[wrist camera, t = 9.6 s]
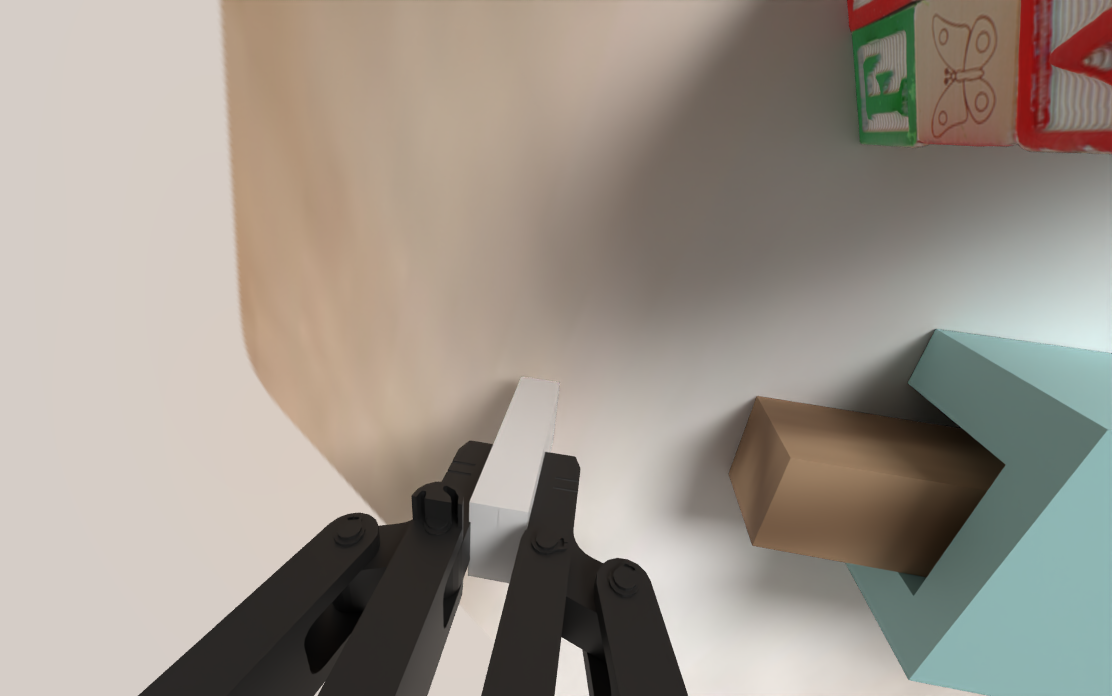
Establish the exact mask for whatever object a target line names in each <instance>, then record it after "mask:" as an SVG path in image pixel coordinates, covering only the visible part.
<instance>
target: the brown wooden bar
mask: <svg viewBox="0 0 1112 696" xmlns="http://www.w3.org/2000/svg"><path fill="white" fill-rule="evenodd" d="M1005 465H1006V464H1004V463H1003V462H1002V461H1001V460H1000V459H998V458H997V457H996V456H995V455H994V454H992V453H991V452H990V451H989V450H988V449H986V448H985V447H984V446H983V445H982V444H980V443H979V442H978V441H977V440H976V439H974V438H973V437H972V436H971V435H969V434H968V433H967V432H966V431H965V430H963V429H962V428H956V427H949V426H943V425H937V424H930V423H924V422H918V421H911V420H905V419H899V418H893V417H886V416H880V415H874V414H867V413H861V412H855V411H849V410H842V409H836V408H830V407H823V406H817V405H811V404H804V403H798V402H792V401H786V400H779V399H773V398H767V397H760V396H757V397H756V400H755V402H754V405H753V408H752V411H751V413H750V416H749V419H748V422H747V424H746V427H745V430H744V433H743V435H742V438H741V441H740V444H739V446H738V449H737V452H736V455H735V457H734V460H733V463H732V466H731V468H730V471H729V477H730V480H731V483H732V486H733V489H734V492H735V495H736V498H737V501H738V504H739V507H740V510H741V513H742V516H743V519H744V522H745V525H746V528H747V531H748V534H749V537H750V540H751V543H752V546H757V547H763V548H768V549H774V550H779V551H785V552H790V553H796V554H801V555H807V556H812V557H818V558H823V559H829V560H834V561H840V562H845V563H851V564H856V565H862V566H867V567H873V568H878V569H884V570H889V571H895V572H900V573H906V574H911V575H917V576H922V577H927V576H928V575H929V573H930V572H931V571H932V569H933V568H934V566H935V565H936V563H937V562H938V561H939V559H940V558H941V556H942V555H943V553H944V552H945V551H946V549H947V548H948V546H949V545H950V544H951V542H952V541H953V539H954V538H955V536H956V535H957V534H958V532H959V531H960V529H961V528H962V526H963V525H964V524H965V522H966V521H967V519H968V518H969V516H970V515H971V514H972V512H973V511H974V509H975V508H976V507H977V505H978V504H979V502H980V501H981V499H982V498H983V497H984V495H985V494H986V492H987V491H988V489H989V488H990V487H991V485H992V484H993V482H994V481H995V479H996V478H997V477H998V475H999V474H1000V472H1001V471H1002V469H1003V468H1004V467H1005Z"/></svg>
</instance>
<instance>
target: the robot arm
mask: <svg viewBox="0 0 1112 696" xmlns="http://www.w3.org/2000/svg"><path fill="white" fill-rule="evenodd" d="M559 388H560V382H557V381H550V380H543V379H537V378H530V377H524V376H522V377H521V379H520V381H519V384H518V386H517V389H516V391H515V393H514V396H513V398H512V401H511V403H510V405H509V408H508V410H507V413H506V415H505V417H504V420H503V422H502V425H501V427H500V429H499V432H498V434H497V437H496V439H495V442H494V444H488V443H482V442H476V441H469V442H467V443H466V444H465V445H464V446H462V447H461V448H460V449H459V450H458V452H457V453H456V455H455V457H454V459H453V462H452V463H451V465H450V467H449V469H448V472H447V473H446V475H445V476H444V478H443V480H442V482H433V483H429V484H426V485H424V486H422V487H420V488H419V489H417V490H416V491H415V493H414V494H413V495H412V512H413V520H411V521H408V522H405V523H400V524H392V525H382V526H378V524H377V522H376V519H374V518H373V517H372V516H370V515H368V514H363V513H353V514H347V515H344V516H342V517H339V518H337V519H336V520H334V521H333V522H331V523H330V524H329V525H327V526H326V527H325V528H324V529H323V530H322V531H321V532H320V533H319V534H317V536H315V537H314V538H313V539H312V540H311V541H310V542H309V543H307V544H306V545H305V546H304V547H303V548H302V549H301V550H300V551H299V552H298V553H296V554H295V555H294V556H293V557H292V558H291V559H290V560H289V561H287V562H286V563H285V564H284V565H283V566H282V567H281V568H280V569H278V570H277V571H276V572H275V573H274V574H273V575H272V576H271V577H270V578H268V579H267V580H266V581H265V582H264V583H263V584H262V585H261V586H260V587H258V588H257V589H256V590H255V591H254V592H253V593H252V594H251V595H250V596H249V597H247V598H246V599H245V600H244V601H243V602H242V603H241V604H240V605H238V606H237V607H236V608H235V609H234V610H233V611H232V612H231V613H230V614H228V615H227V616H226V617H225V618H224V619H223V620H222V621H221V622H220V623H218V624H217V625H216V626H215V627H214V628H213V629H212V630H211V631H210V632H208V633H207V634H206V635H205V636H204V637H203V638H202V639H201V640H200V641H198V642H197V643H196V644H195V645H194V646H193V647H192V648H191V649H189V650H188V651H187V652H186V653H185V654H184V655H183V656H182V657H181V658H179V660H177V661H176V662H175V663H174V664H173V665H172V666H171V667H169V669H167V670H166V671H165V672H164V673H163V674H162V675H161V676H159V677H158V678H157V679H156V680H155V681H154V682H153V683H152V684H151V685H149V686H148V687H147V688H146V689H145V690H144V691H143V692H142V693H141V694H139V695H138V696H314V695H315V693H316V692H317V691H318V690H319V688H320V687H321V686H322V685H323V683H324V682H325V683H324V685H323V687H322V689H321V691H320V692H319V694H318V696H427V695H428V692H429V689H430V686H431V683H432V680H433V677H434V675H435V672H436V668H437V666H438V663H439V660H440V657H441V654H442V651H443V648H444V645H445V642H446V639H447V637H448V634H449V631H450V628H451V625H452V622H453V619H454V616H455V613H456V610H457V607H458V605H459V602H460V599H461V596H462V590H463V578H464V575H465V572H466V570H467V567H468V576H473V577H479V578H484V579H490V580H495V581H500V582H506V583H509V587H508V591H507V595H506V599H505V603H504V607H503V611H502V615H501V619H500V623H499V627H498V631H497V635H496V639H495V643H494V648H493V651H492V655H491V659H490V663H489V667H488V671H487V675H486V679H485V683H484V687H483V691H482V695H481V696H554V694H555V686H556V677H557V669H558V660H559V652H560V643H561V637H562V638H564V639H566V640H567V641H569V642H571V643H573V644H574V645H576V646H578V647H579V648H581V649H583V657H584V663H585V670H586V676H587V683H588V689H589V696H688V694H687V691H686V688H685V685H684V682H683V678H682V675H681V672H680V669H679V666H678V663H677V660H676V657H675V654H674V651H673V648H672V645H671V642H670V639H669V636H668V633H667V630H666V626H665V623H664V620H663V617H662V614H661V611H660V608H659V605H658V602H657V599H656V596H655V593H654V590H653V587H652V584H651V581H650V579H649V577H648V575H647V573H646V572H645V571H644V570H643V569H642V568H641V567H640V566H639V565H638V564H636V563H634V562H632V561H630V560H628V559H621V558H615V559H610V560H607V561H606V562H605V563H601V562H599V561H597V560H595V559H593V558H592V557H590V556H588V555H587V554H585V553H584V552H583V551H582V550H581V549H580V548H579V546H578V545H577V543H576V541H575V538H574V533H573V528H574V520H575V511H576V502H577V494H578V485H579V477H580V466H579V464H578V462H577V459H576V457H574V456H568V455H561V454H555V453H550V452H551V448H552V443H553V438H554V430H555V421H556V413H557V404H558V396H559Z"/></svg>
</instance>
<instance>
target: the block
mask: <svg viewBox="0 0 1112 696" xmlns="http://www.w3.org/2000/svg"><path fill="white" fill-rule="evenodd" d="M908 384H909V385H910V386H912V387H913V388H914V389H915V390H917V391H918V392H919V393H920V394H921V395H923V396H924V397H925V398H926V399H927V400H929V401H930V402H931V403H932V404H933V405H935V406H936V407H937V408H938V409H939V410H941V411H942V412H943V413H944V414H945V415H947V416H948V417H949V418H950V419H951V420H953V421H954V422H955V423H956V424H957V425H959V426H960V427H961V428H962V429H963V430H965V431H966V432H967V433H968V434H969V435H971V436H972V437H973V438H974V439H976V440H977V441H978V442H979V443H980V444H982V445H983V446H984V447H985V448H986V449H988V450H989V451H990V452H991V453H992V454H994V455H995V456H996V457H997V458H998V459H1000V460H1001V461H1002V462H1003V463H1004V464H1006V465H1005V467H1004V468H1003V469H1002V471H1001V472H1000V474H999V475H998V477H997V478H996V479H995V481H994V482H993V484H992V485H991V487H990V488H989V489H988V491H987V492H986V494H985V495H984V497H983V498H982V499H981V501H980V502H979V504H978V505H977V507H976V508H975V509H974V511H973V512H972V514H971V515H970V516H969V518H968V519H967V521H966V522H965V524H964V525H963V526H962V528H961V529H960V531H959V532H958V534H957V535H956V536H955V538H954V539H953V541H952V542H951V544H950V545H949V546H948V548H947V549H946V551H945V552H944V553H943V555H942V556H941V558H940V559H939V561H938V562H937V563H936V565H935V566H934V568H933V569H932V571H931V572H930V573H929V575H928V576H927V577H922V576H917V575H911V574H906V573H900V572H895V571H889V570H884V569H878V568H873V567H867V566H862V565H856V564H851V563H846V565H847V567H848V569H849V571H850V572H851V574H852V576H853V578H854V580H855V582H856V584H857V585H858V587H859V589H860V591H861V593H862V595H863V597H864V598H865V600H866V602H867V604H868V606H869V608H870V609H871V611H872V613H873V615H874V617H875V619H876V621H877V622H878V624H879V626H880V628H881V630H882V632H883V634H884V635H885V637H886V639H887V641H888V643H889V645H890V646H891V648H892V650H893V652H894V654H895V656H896V658H897V659H898V661H899V663H900V665H901V667H902V669H903V671H904V672H905V674H906V676H907V678H908V680H911V681H916V682H921V683H926V684H931V685H937V686H942V687H947V688H952V689H957V690H962V691H968V692H973V693H978V694H983V695H988V696H1112V353H1106V352H1099V351H1092V350H1085V349H1077V348H1070V347H1063V346H1056V345H1049V344H1041V343H1034V342H1027V341H1020V340H1012V339H1005V338H998V337H991V336H984V335H976V334H969V333H962V332H955V331H948V330H940V329H936V330H935V332H934V334H933V335H932V337H931V339H930V341H929V343H928V345H927V347H926V349H925V351H924V353H923V355H922V356H921V358H920V360H919V362H918V364H917V366H916V368H915V370H914V372H913V374H912V376H911V377H910V379H909V381H908Z"/></svg>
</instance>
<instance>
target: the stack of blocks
mask: <svg viewBox="0 0 1112 696" xmlns="http://www.w3.org/2000/svg"><path fill="white" fill-rule="evenodd" d="M847 4H848V16H849V27H850V30H851V33H852V41H853V54H854V67H855V81H856V94H857V107H858V119H859V137H860V143H861V144H866V145H882V146H896V147H911V148H916V147H923V146H926V145H929V144H943V145H962V146H979V147H980V146H1012V145H1017V144H1019V146H1020V147H1021V148H1022V149H1024V150H1027V151H1029V152H1052V153H1091V154H1112V0H847Z"/></svg>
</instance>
